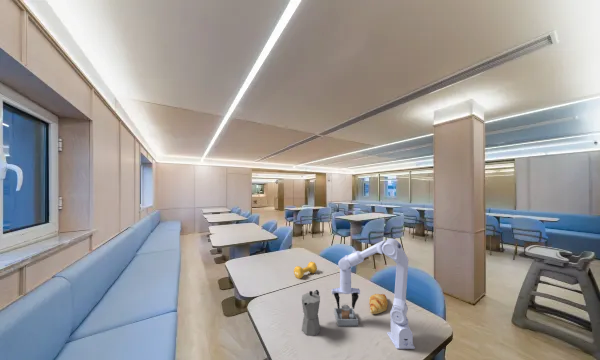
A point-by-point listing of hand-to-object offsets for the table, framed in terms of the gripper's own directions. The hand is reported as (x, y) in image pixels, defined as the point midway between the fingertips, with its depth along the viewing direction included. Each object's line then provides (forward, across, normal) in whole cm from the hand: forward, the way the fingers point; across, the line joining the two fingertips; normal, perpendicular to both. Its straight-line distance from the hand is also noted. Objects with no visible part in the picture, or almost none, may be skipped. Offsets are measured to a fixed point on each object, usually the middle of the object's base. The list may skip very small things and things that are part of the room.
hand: (345, 307), depth 106 cm
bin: (+6, 0, 0) cm, 6 cm away
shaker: (+6, 0, 0) cm, 6 cm away
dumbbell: (+6, +19, -54) cm, 58 cm away
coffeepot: (+6, +18, +6) cm, 20 cm away
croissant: (+7, -21, -12) cm, 25 cm away
